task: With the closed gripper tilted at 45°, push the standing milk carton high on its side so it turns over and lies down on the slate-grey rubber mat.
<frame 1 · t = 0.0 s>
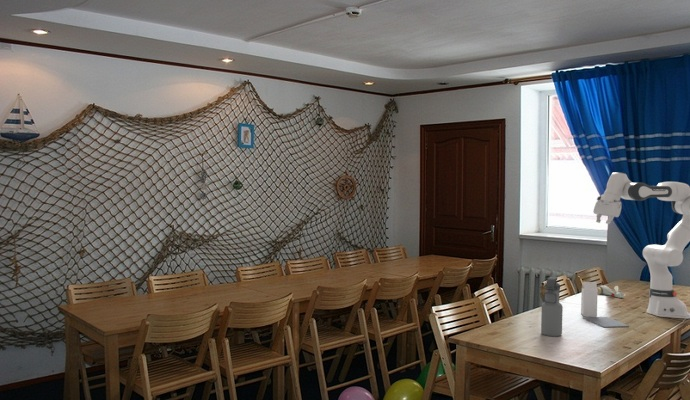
hand: (602, 223, 335), 52 cm above the table, tool tilted 20°, fingers open, 8 cm apart
milk carton: (588, 315, 337), on the table
water bottle: (551, 334, 296), on the table
toy dog: (609, 296, 395), on the table
mat: (605, 322, 321), on the table
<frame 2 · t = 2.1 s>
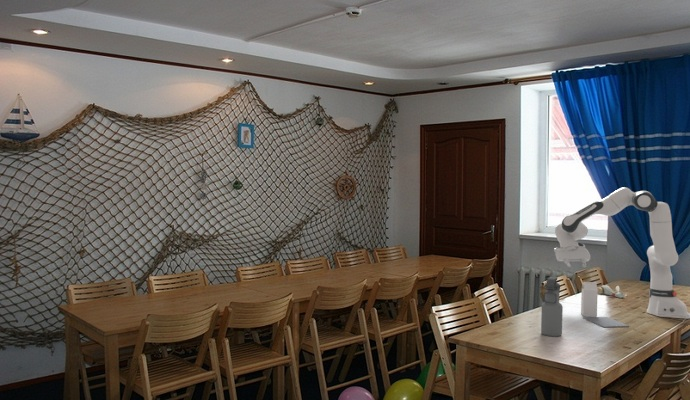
hand: (577, 266, 349), 26 cm above the table, tool tilted 45°, fingers open, 8 cm apart
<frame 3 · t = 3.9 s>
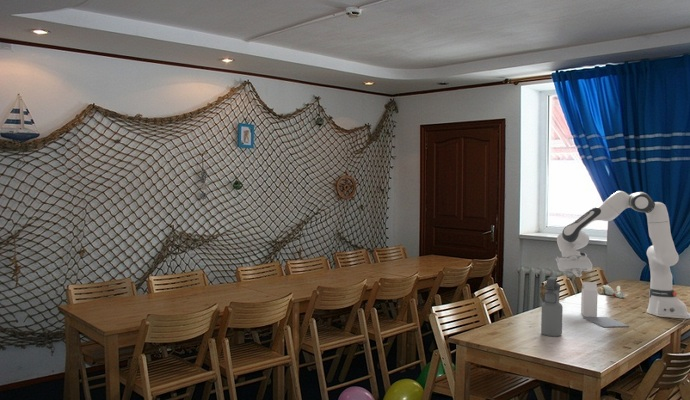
hand: (579, 276, 347), 20 cm above the table, tool tilted 45°, fingers closed
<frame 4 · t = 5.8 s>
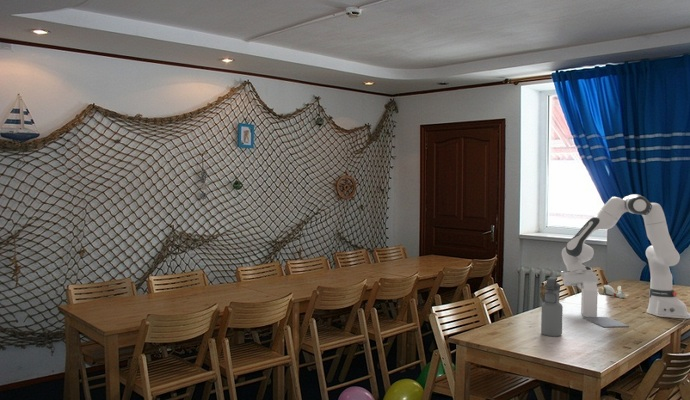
hand: (584, 291, 341), 13 cm above the table, tool tilted 45°, fingers closed
milk carton: (588, 315, 337), on the table, touching gripper
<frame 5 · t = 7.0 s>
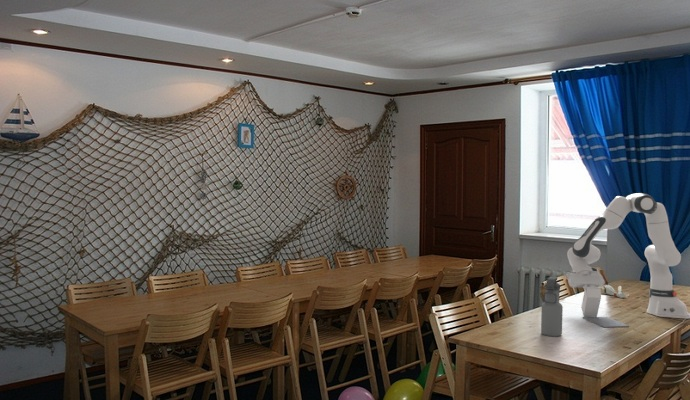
hand: (590, 292, 334), 13 cm above the table, tool tilted 45°, fingers closed
milk carton: (588, 312, 336), point 2 cm above the table
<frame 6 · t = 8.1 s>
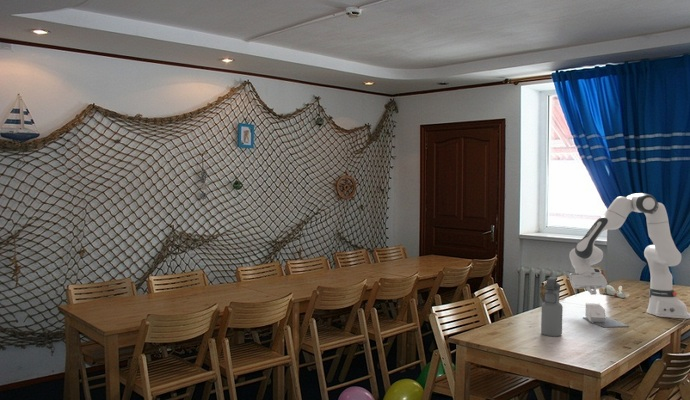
hand: (593, 294, 332), 13 cm above the table, tool tilted 45°, fingers closed
milk carton: (592, 309, 333), point 4 cm above the table, touching mat
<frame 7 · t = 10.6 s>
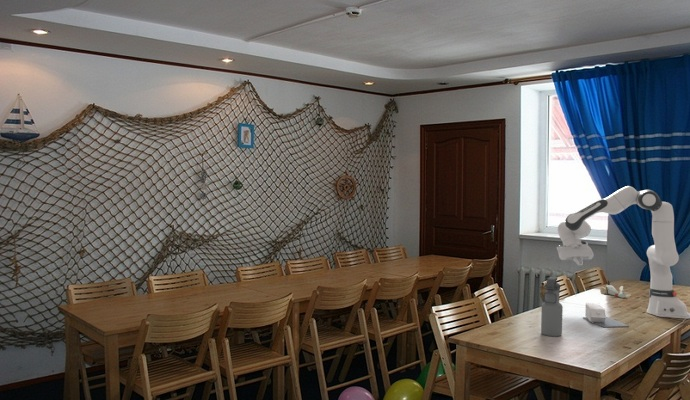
hand: (580, 264, 346), 27 cm above the table, tool tilted 45°, fingers closed
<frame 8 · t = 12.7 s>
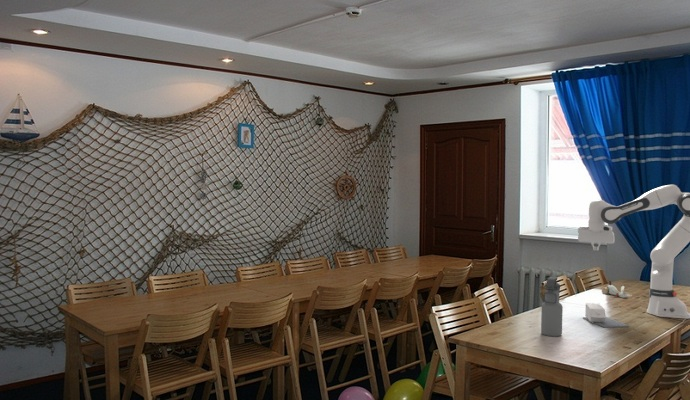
hand: (595, 250, 358), 34 cm above the table, tool pointing down, fingers closed
at the end: milk carton tilted 90°; milk carton touching mat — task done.
